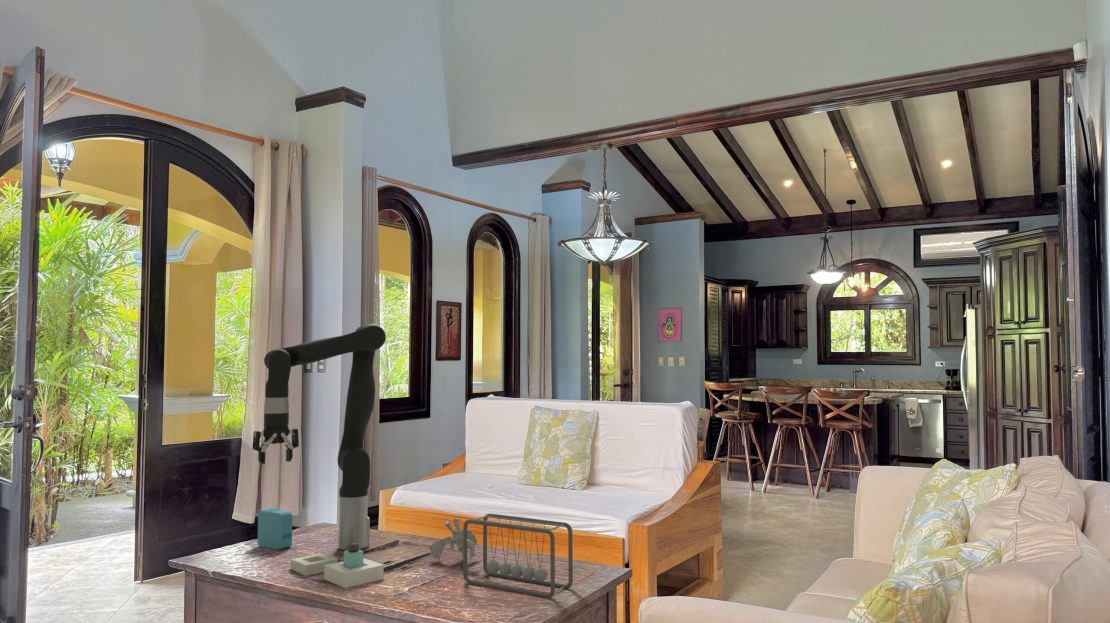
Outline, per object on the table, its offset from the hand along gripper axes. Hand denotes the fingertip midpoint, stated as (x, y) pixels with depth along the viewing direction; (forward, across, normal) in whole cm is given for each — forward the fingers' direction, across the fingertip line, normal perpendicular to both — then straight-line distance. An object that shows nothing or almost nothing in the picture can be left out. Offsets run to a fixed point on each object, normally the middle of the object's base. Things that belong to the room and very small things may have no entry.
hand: (275, 462), depth 241 cm
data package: (+30, +7, +15) cm, 35 cm away
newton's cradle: (+30, +34, -77) cm, 90 cm away
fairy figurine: (+30, +39, -45) cm, 67 cm away
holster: (+30, +3, -21) cm, 37 cm away
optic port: (+30, +6, -39) cm, 50 cm away
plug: (+30, +6, -39) cm, 50 cm away
